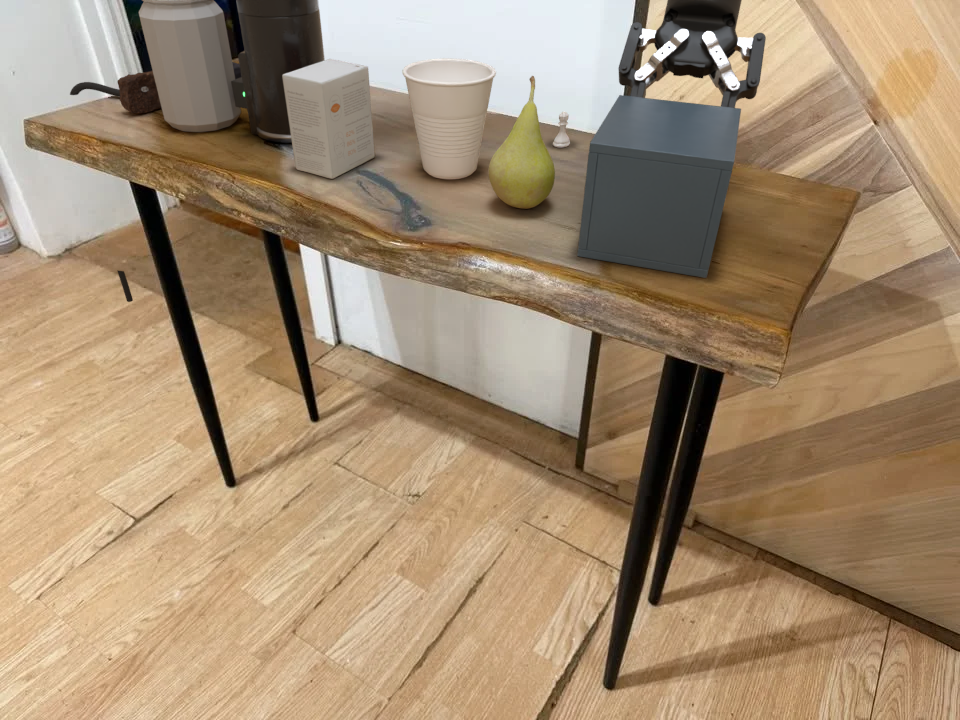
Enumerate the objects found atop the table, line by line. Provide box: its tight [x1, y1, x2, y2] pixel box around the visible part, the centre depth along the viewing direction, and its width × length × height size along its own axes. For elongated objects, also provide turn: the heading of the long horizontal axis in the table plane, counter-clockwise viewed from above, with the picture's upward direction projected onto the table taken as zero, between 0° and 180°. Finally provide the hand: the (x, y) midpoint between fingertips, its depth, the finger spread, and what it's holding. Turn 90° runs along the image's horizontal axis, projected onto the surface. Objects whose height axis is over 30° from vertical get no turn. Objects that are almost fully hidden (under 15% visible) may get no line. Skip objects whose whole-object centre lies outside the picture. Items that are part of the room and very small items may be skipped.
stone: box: [117, 70, 162, 114], centre depth 96 cm, size 8×3×5 cm, turn 147°
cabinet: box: [576, 94, 742, 279], centre depth 66 cm, size 15×12×11 cm
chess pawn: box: [552, 111, 571, 149], centre depth 88 cm, size 3×2×4 cm
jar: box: [138, 0, 242, 133], centre depth 88 cm, size 10×10×18 cm
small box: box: [282, 58, 376, 180], centre depth 79 cm, size 8×6×10 cm
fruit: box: [488, 75, 556, 210], centre depth 71 cm, size 7×8×12 cm
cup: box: [401, 57, 497, 180], centre depth 78 cm, size 10×10×11 cm
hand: (676, 125), depth 74 cm, fingers open, 8 cm apart
